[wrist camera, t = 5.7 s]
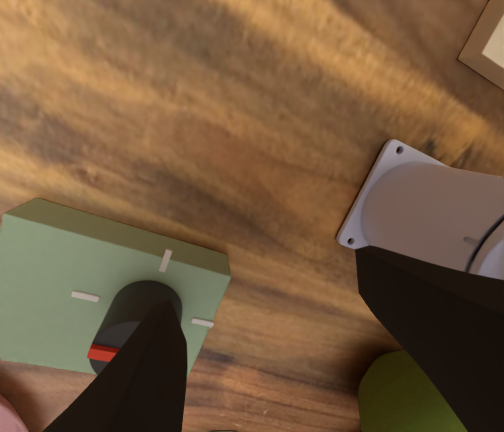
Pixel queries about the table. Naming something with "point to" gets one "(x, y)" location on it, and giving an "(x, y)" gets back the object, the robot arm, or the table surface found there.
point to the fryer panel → (91, 281)
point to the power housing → (487, 44)
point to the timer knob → (127, 318)
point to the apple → (402, 398)
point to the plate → (10, 418)
